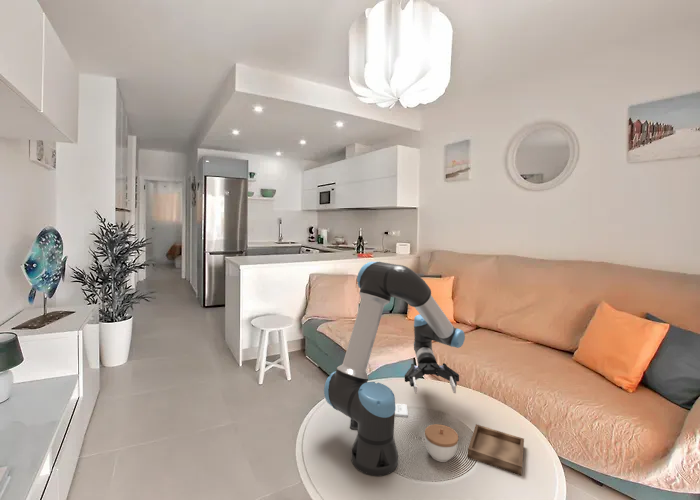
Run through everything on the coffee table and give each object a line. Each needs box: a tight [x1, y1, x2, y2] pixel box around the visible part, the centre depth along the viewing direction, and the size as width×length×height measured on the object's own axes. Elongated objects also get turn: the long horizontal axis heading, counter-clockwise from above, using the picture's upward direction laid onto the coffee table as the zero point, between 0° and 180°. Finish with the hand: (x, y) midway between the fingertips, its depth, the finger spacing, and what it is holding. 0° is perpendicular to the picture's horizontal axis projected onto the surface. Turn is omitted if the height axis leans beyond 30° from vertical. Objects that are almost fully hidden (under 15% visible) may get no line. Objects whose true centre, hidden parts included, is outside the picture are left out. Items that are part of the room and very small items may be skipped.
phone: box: [349, 418, 358, 431], centre depth 133 cm, size 8×1×15 cm
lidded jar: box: [424, 423, 459, 463], centre depth 113 cm, size 11×11×9 cm
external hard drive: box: [395, 402, 409, 418], centre depth 139 cm, size 2×8×12 cm
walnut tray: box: [467, 423, 525, 477], centre depth 116 cm, size 16×16×3 cm
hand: (435, 390), depth 121 cm, fingers open, 13 cm apart
